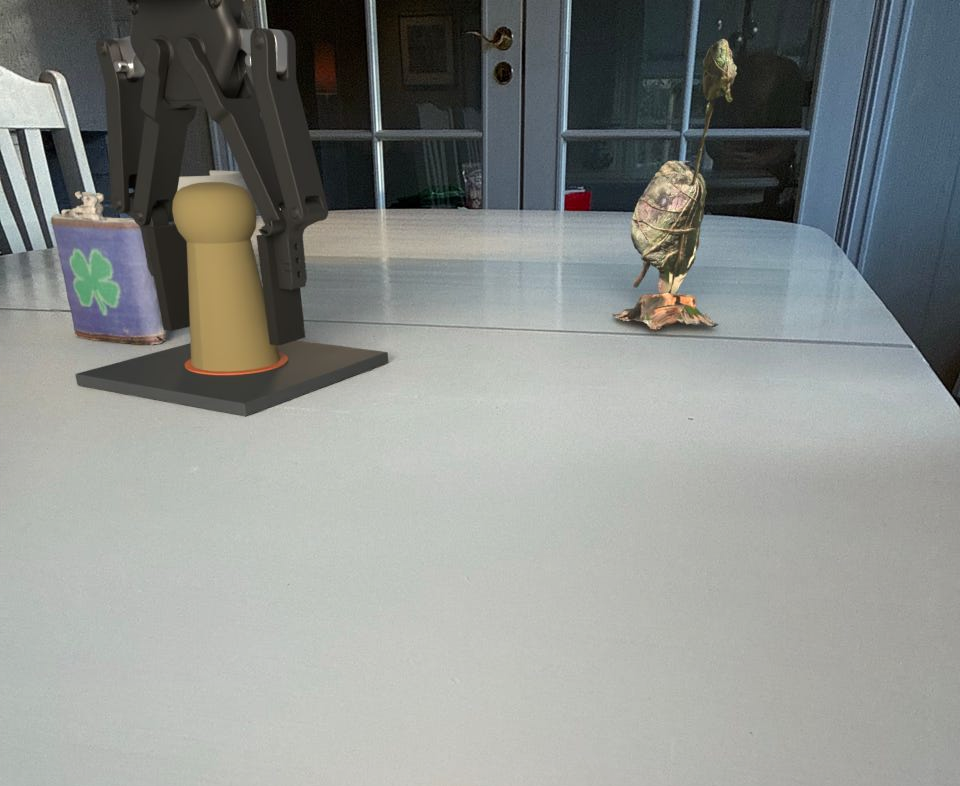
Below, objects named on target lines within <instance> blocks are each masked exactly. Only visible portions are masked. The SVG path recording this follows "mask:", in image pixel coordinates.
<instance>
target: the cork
mask: <svg viewBox="0 0 960 786" xmlns="http://www.w3.org/2000/svg"><path fill="white" fill-rule="evenodd" d="M256 208H257V206H256V204H255V202H254V200H253V197H252V195H251V193H250V191H248V189H247V190H246V189H245V188H243V187H242V186H238V185H234V184H230V183H224V182H202V183H196V184H191V185H188V186H185V187H182V188H181V189H179V190H178V191H177V192H176V194H175V197H174V199H173V207H172V212H173V218H174V222H173V223H174V224H176V227H177V229H178V232H179V233H180V234H181V235H182V236H183V238H184V239H185V240H186V241H187V263H188V289H189V315H190V327H189V335H190V336H189V337H190V343H191V365H192V366H193V367H195V368H198V369H201V370H207V371H224V372H230V371H244V370H252V369H258V368H262V367H267V366H270V365H272V364H275V363H277V362H278V361H279V360H280V355H279V351H278V347H277V345H270V342H269V334H268V326H267V318H266V310H265V302H264V294H263V286H262V278H261V273H260V271H259V270H260V269H259V267H258V263H257V259H256V255H255V250H254V246H253V242H252V237H253V235H254V233H255V231H256V228H257V221H258V217H257V209H256Z"/></svg>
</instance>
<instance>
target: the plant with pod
mask: <svg viewBox="0 0 960 786" xmlns="http://www.w3.org/2000/svg"><path fill="white" fill-rule="evenodd" d="M733 56H734V55H733V51H732V50H731V48H730V46H729V41H728V40H726V39H725V38H722V39H719V40H718V41H716V42H715V43H714V44H712V45H711V46H710V47H709V48H708V50H707V52H706V55H705V57H704V59H703V60H702V65H701V66H702V67H703V68H702V92H703V96H704V98H705V100H706V101H708V103H707V104H706V109H705V114H704V115H705V116H704V117H705V120H704V122H705V123H704V127H703V132H702V136H701V139H700V143H699V146H698V150H697V155H696V161H695V165H694V170H693V169H692V168H691V167H690V166H689V165H686V163H690V162H691V160H684V161H682V160H668V161H667V162H665V163H664V164H663V165H662V166H661V167H660V169H658V172H656V173H655V174H654V176H653V177H652V178H651V179H650V181H649V183H648V185H647V186H646V188H645V189H644V191H643V193H642V195H641V196H640V197H639V198H638V200H637V203H636V206H635V207H634V211H633V215H632V217H631V220H630V221H631V222H630V239H631V241H632V244H633V247H634V250H636V251H637V253H638V254H640V255H641V257H640V259H641V260H642V261H643V262H642V270H641V272H640V274H638V275H637V277H636V278H635V279H634V280H633V284H632V287H633V288H638V287H639V286H640V284H641V283H642V281H643V280H644V278H645V277H646V276H647V273H648V271H649V269H650V267H654V268H655V269H657V270H658V273H659V274H658V283H657V284H658V286H657V291H658V293H647V294H643V295H641V296H640V297H639V299H638V301H637V303H636V305H635V306H634V307H632V308H626V309H623V311H622V312H621V313H617V314H615V313H612V316H611V317H615V319H616V320H620V321H621V320H622V321H623V322H625V321H627V322H630V321H633V320H634V321H636V322H642V323H644V324H646V325H647V326H648V327H649V329H651V330H659V329H663V327H668V326H670V325H672V324H675V323H678V322H679V323H681V324H684V323H685V324H686V325H690V324H691V325H693V326H697V325H698V326H701V325H703V326H706V327H708V328H715V327H716V328H717V326H719V325H720V323H716V322H715V323H713V322H714V320H712V318H711V316H709V315H707V313H705V314H704V313H703V312H701V311H699V309H698V307H697V299H696V297H695V296H693V295H691V294H681V293H678V291H679V288H680V287H681V285H682V283H683V282H684V280H685V278H686V277H687V275H688V273H689V271H690V270H691V268H692V266H693V265H694V263H695V260H696V253H697V250H698V249H699V248H700V235H701V234H700V233H701V226H702V223H703V219H704V215H705V214H704V213H705V207H706V202H705V201H706V196H707V194H708V192H707V182H706V181H705V180H704V177H703V175H702V174H701V173H699V171H700V170H699V169H700V163H701V160H702V155H703V148H704V146H705V140H706V139H705V138H706V137H707V133H708V130H709V126H710V122H711V118H712V115H713V112H714V107H715V101H716V100H718V99H719V98H721V97H723V96H724V97H725V99H726V101H727V102H728V103H731V102H732V101H733V97H732V94H731V87H732V86H733V84H734V82H735V78H736V76H737V73H738V72H737V69H738V67H737V65H736V64H735V61H734V60H733Z"/></svg>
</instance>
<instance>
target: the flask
mask: <svg viewBox="0 0 960 786" xmlns="http://www.w3.org/2000/svg"><path fill="white" fill-rule="evenodd" d="M74 196H75V197H76V198H77V200H80V199H81V201H82V202H83V204H80V205H76V207H73V208H71V209H69V208H68V209H62V210H61V212H60V213H53V214H52V216H51V218H50V223H51V228H52V231H53V235H54V239H55V243H56V248H57V252H58V257H59V262H60V268H61V271H62V275H63V281H64V286H65V292H66V297H67V302H68V305H69V310H70V313H71V319H72V323H73V330H74V336H75V337H77V338H82V339H87V340H92V341H102V342H103V341H108V342H111V343H120V344H131V345H142V344H145V345H150V346H153V345H159V344H161V343H162V342H164V341H165V342H167V340H168V339H167V338H168V335H167V330H164V329H163V324H162V318H161V313H160V307H159V302H158V296H157V291H156V285H155V280H154V276H151V274H150V272H149V269H148V266H147V258H146V255H145V253H146V252H145V249H144V244H143V238H142V233H141V228H140V226H139V225H137V223H136V222H135V221H134V219H133V218H132V217H127V218H126V217H125V218H124V217H109V216H103V212H104V206H103V204H101V203H102V202H103V201H104V200H105V196H104V194H103V193H100V192H96V193H93V192H91V191H90V192H89V191H82V192H81V191H80V190H78V191H75V193H74ZM160 339H161V340H160Z"/></svg>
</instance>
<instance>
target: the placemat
mask: <svg viewBox="0 0 960 786" xmlns="http://www.w3.org/2000/svg"><path fill="white" fill-rule="evenodd" d="M277 347H278V351H279V355H280V360H279V361H278V362H277V363H275V364H272V365H270V366H267V367H262V368H258V369H252V370H244V371H230V372H224V371H207V370H201V369H198V368H195V367H193V366H192V365H191V342H189V343H185V344H181V345H178V346H174V347H170V348H167V349H163V350H159V351H156V352H152V353H148V354H145V355H141V356H137V357H134V358H130V359H126V360H122V361H118V362H115V363H111V364H107V365H104V366H100V367H96V368H92V369H88V370H85V371H81V372H77V373H75V375H74V376H75V380H76V384H77V386H78V387H79V386H80V387H84V388H91V389H96V390H101V391H106V392H112V393H118V394H122V395H128V396H132V397H133V396H134V397H137V398H138V397H139V398H144V399H150V400H154V401H155V400H156V401H160V402H167V403H171V404H177V405H181V406H188V407H194V408H197V409H198V408H199V409H205V410H210V411H214V412H215V411H216V412H221V413H226V414H232V415H237V416H243V417H247V416H251V415H253V414H256V413H259V412H261V411H263V410H267V409H269V408H272V407H274V406H277V405H280V404H282V403H285V402H287V401H291V400H293V399H296V398H299V397H301V396H304V395H307V394H308V393H312V392H314V391H317V390H320V389H323V388H325V387H327V386H331V385H333V384H336V383H338V382H341V381H343V380H347V379H349V378H352V377H354V376H357V375H360V374H362V373H366V372H368V371H370V370H373V369H376V368H378V367H381V366H384V365H386V364H387V365H388V364H389V353H388V351H382V350H374V349H367V348H359V347H351V346H343V345H336V344H328V343H320V342H315V341H313V342H312V341H305V340H296V341H292V342H289V343H286V344H283V345H279V346H277Z"/></svg>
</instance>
